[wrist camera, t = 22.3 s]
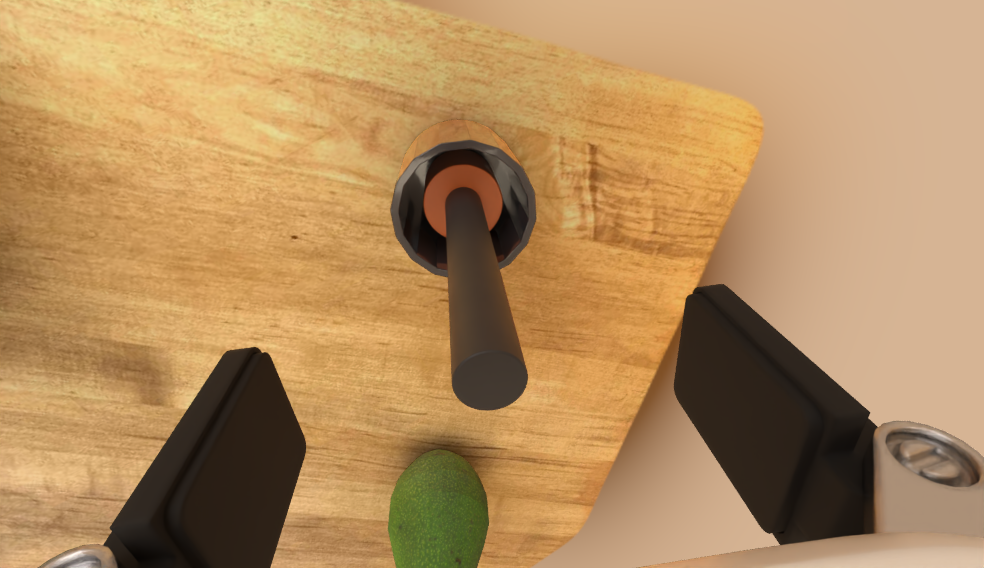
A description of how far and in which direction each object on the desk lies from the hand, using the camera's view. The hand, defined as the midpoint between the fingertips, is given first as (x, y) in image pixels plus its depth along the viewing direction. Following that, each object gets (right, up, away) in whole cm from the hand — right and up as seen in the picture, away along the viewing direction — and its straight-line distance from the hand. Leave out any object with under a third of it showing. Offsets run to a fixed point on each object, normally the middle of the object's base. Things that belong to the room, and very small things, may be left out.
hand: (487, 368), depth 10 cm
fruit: (-5, -14, +30) cm, 34 cm away
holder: (-2, +9, +19) cm, 21 cm away
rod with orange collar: (-2, +8, +18) cm, 20 cm away
